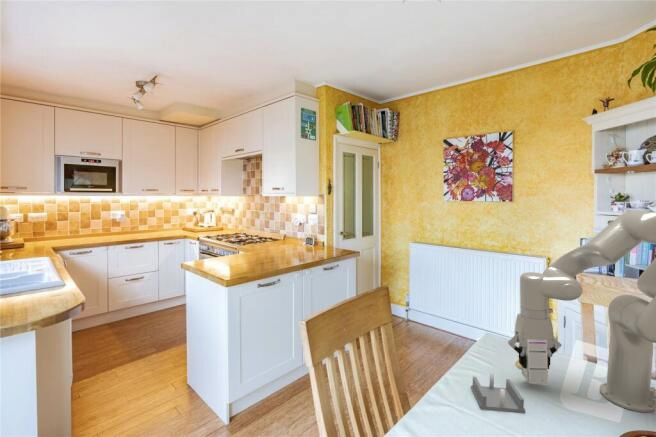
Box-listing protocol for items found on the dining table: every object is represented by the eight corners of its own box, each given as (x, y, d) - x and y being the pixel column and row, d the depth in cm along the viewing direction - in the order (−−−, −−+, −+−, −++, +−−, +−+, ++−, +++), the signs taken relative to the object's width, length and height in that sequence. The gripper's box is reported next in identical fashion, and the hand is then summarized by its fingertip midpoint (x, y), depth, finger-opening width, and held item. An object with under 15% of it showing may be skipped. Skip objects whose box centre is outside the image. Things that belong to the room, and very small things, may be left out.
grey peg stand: (510, 391, 102) (511, 373, 101) (525, 413, 92) (526, 393, 91) (470, 388, 104) (471, 370, 103) (480, 409, 94) (481, 389, 93)
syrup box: (548, 385, 101) (548, 340, 100) (527, 383, 102) (527, 339, 101) (540, 374, 106) (540, 332, 105) (520, 373, 107) (520, 331, 106)
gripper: (557, 307, 105) (557, 361, 106) (500, 307, 107) (501, 359, 109) (571, 316, 97) (570, 374, 99) (509, 316, 100) (510, 372, 101)
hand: (534, 366), depth 104 cm, fingers closed on syrup box, 6 cm apart
